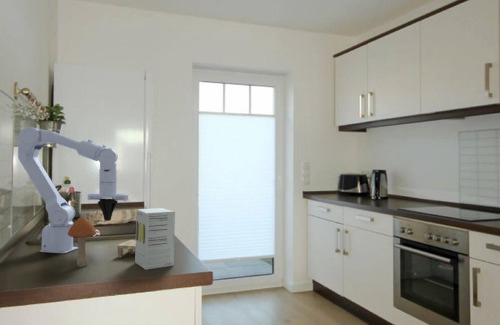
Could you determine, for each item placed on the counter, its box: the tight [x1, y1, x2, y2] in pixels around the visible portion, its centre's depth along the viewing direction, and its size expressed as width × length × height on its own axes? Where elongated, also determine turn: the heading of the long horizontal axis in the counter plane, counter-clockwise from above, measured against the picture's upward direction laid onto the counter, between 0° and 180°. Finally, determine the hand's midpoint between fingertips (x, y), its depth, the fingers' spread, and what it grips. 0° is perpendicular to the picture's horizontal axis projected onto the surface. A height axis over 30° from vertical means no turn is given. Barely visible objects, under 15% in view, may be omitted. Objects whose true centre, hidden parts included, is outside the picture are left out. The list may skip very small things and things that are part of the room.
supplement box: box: [134, 207, 176, 271], centre depth 117 cm, size 10×9×17 cm
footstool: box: [116, 239, 136, 258], centre depth 128 cm, size 4×9×9 cm
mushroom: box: [68, 216, 97, 268], centre depth 113 cm, size 8×8×15 cm
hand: (107, 220), depth 135 cm, fingers closed
